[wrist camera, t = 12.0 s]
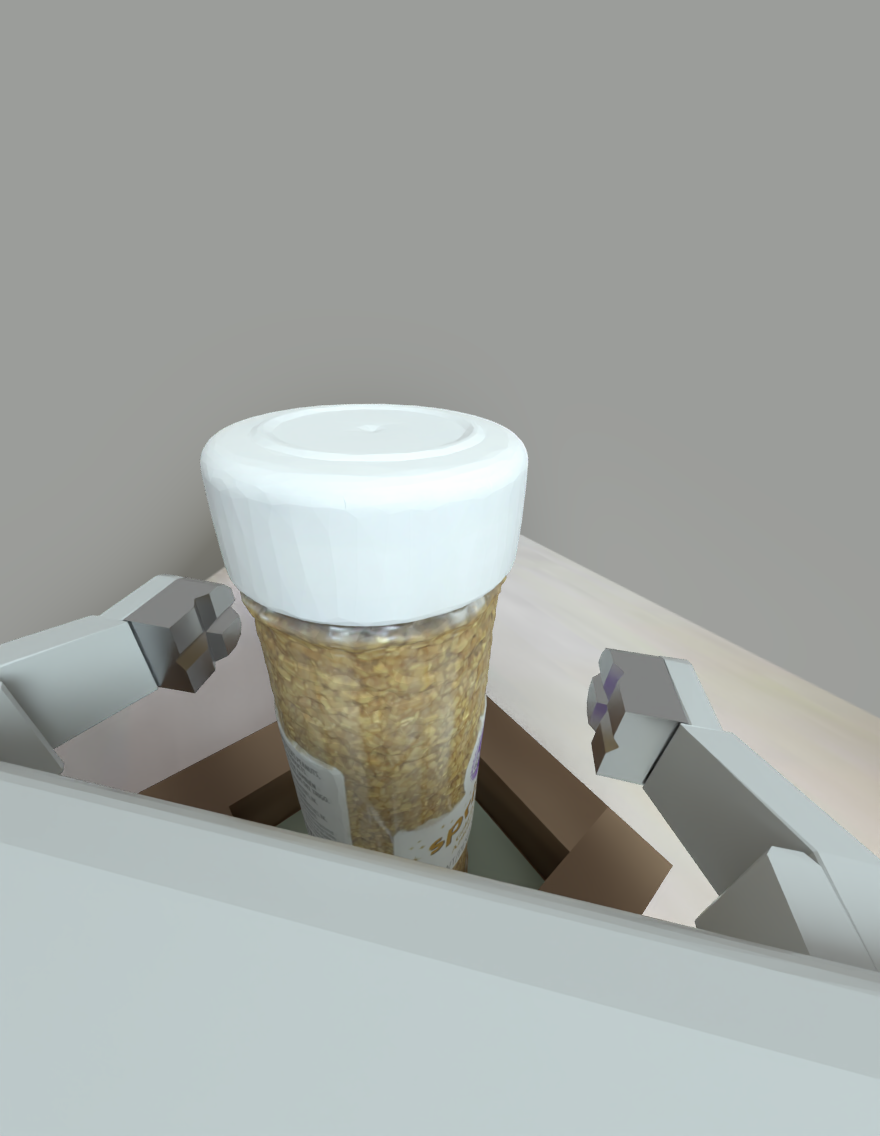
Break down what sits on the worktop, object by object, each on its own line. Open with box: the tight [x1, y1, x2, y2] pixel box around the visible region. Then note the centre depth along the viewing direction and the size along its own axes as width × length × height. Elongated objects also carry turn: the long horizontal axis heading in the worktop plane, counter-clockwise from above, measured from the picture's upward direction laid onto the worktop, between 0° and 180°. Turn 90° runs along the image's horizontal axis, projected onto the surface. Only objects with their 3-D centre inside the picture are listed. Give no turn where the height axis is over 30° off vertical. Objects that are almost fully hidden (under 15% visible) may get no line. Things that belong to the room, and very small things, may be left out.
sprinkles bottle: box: [200, 404, 528, 873], centre depth 9 cm, size 5×5×14 cm
